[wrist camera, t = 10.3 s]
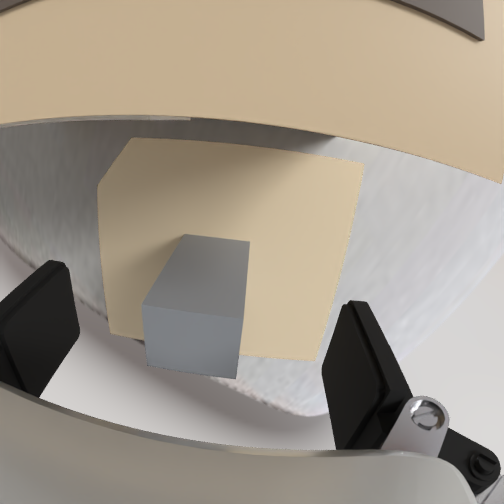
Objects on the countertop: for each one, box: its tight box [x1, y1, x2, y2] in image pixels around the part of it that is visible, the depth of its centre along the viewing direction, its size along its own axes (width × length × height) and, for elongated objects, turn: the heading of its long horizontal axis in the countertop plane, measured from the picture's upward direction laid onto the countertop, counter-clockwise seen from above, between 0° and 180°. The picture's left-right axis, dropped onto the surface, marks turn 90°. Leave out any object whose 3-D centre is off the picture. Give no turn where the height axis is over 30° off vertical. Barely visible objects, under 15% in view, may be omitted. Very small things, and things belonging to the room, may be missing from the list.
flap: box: [97, 138, 364, 379], centre depth 12 cm, size 11×12×6 cm
